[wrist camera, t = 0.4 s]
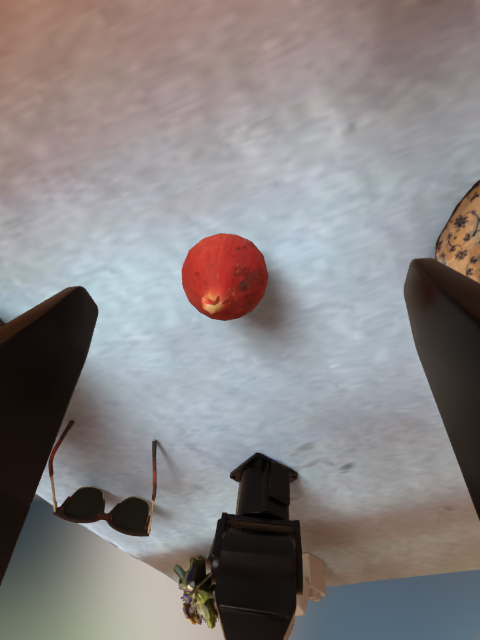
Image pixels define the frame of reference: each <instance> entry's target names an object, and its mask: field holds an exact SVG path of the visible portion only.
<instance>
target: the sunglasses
mask: <svg viewBox="0 0 480 640" xmlns="http://www.w3.org/2000/svg"><path fill="white" fill-rule="evenodd" d="M73 424H74V421H70V422H69V423H68V425H67V427H66V428H65V430H64V432H63V434H62V435H61V437H60V439H59V440H58V442H57V444H56V445H55V447H54V449H53V451H52V453H51V455H50V458H49V475H50V480H51V487H52V494H53V503H54V504H53V506H54V515H56V516H58V517H60V518H62V519H64V520H67V521H70V522H75V523H92V522H96V521H99V520H106V521H107V523H108V524H109V526H111V527H112V528H113V529H115V530H117V531H119V532H121V533H123V534H126V535H131V536H149V534H150V531H151V521H152V515H153V508H154V501H155V497H156V489H157V483H156V448H157V441H152V455H153V494H152V500H153V503H152V510H151V517H150V515H149V511H150V507H149V503H148V502H147V501H145V500H144V499H142V498H139V497H133V496H132V497H128V498H126V499H125V500H123V501H122V502H121V503H118V504H117V505H116V506H115V507H114V508H113V509H112V510H111V511H110V512H109V513H108V514H106V513H104V509H105V500H104V494H103V491H102V490H101V489H99V488H96V487H91V486H87V487H81V488H79V489H78V490H77V491H76V492H75V493H74V494H73V495H72V496H71V497H70V496H68V497H67V499H66V500H65V501H64V503H63V504H62V505H61V506H60V507H57V502H56V499H55V490H54V481H53V458H54V455H55V453H56V451H57V449H58V447H59V446H60V444H61V442H62V441H63V439H64V437H65V436H66V434H67V432H68V431H69V430H70V428H71V427H72V425H73ZM149 522H150V524H149Z"/></svg>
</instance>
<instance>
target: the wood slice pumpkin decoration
mask: <svg viewBox="0 0 480 640" xmlns="http://www.w3.org/2000/svg"><path fill="white" fill-rule="evenodd" d="M435 254H436V260H437V261H439V262H441V263H443V264H445V265H447V266H448V267H450V268H452V269H454V270H456V271H458V272H460V273H462V274H463V275H465V276H467V277H469V278H471V279H473V280H475V281H477V282H478V283H480V180H479V181H478V182H477V183H475V184H474V185H473V187H472V188H471V189H470V190H469V191H468V192H467V194H466V195H465V196H464V197H463V199H462V200H461V201H460V202H459V203H458V205H457V206H456V207H455V209H454V211H453V213H452V215H451V217H450V219H449V220H448V222H447V224H446V226H445V227H444V229H443V231H442V232H441V234H440V236H439V238H438V240H437V243H436V253H435Z"/></svg>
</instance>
